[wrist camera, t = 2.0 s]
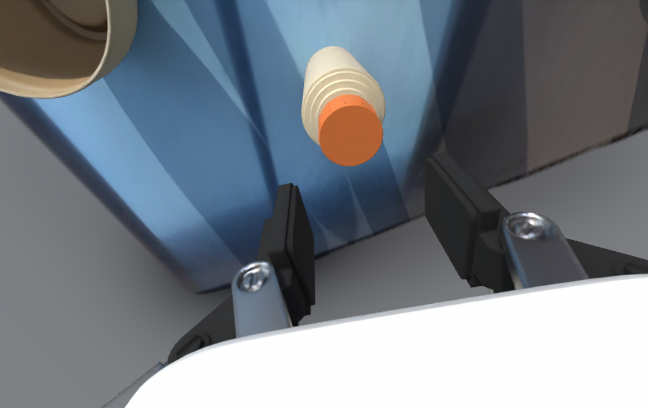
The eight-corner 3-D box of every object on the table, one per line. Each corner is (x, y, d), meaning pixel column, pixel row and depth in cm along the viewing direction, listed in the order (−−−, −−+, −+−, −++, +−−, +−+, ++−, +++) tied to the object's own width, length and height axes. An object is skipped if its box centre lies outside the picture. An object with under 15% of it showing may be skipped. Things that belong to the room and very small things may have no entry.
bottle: (370, 68, 32) (422, 119, 17) (339, 115, 35) (360, 194, 20) (324, 33, 30) (337, 56, 15) (295, 86, 33) (281, 150, 18)
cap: (387, 115, 19) (396, 127, 17) (352, 159, 21) (357, 176, 19) (339, 81, 18) (343, 91, 16) (307, 132, 20) (307, 147, 17)
